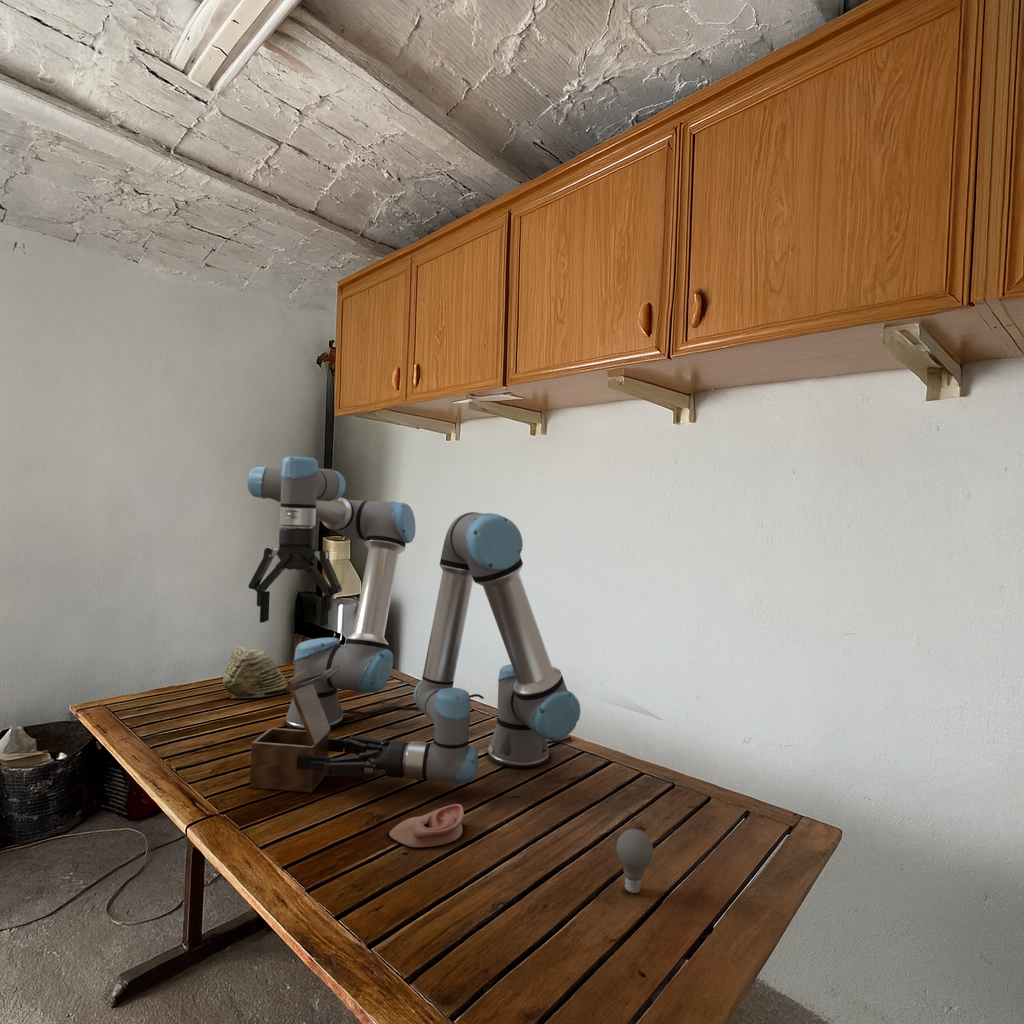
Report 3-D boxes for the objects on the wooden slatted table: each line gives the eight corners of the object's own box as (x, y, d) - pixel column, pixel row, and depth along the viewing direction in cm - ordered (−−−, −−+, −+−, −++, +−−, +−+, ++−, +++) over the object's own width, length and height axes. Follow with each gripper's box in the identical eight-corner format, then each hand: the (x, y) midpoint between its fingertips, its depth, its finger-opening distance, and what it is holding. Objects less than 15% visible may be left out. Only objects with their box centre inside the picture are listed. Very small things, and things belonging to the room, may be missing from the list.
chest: (249, 787, 136) (251, 742, 136) (269, 769, 146) (270, 727, 145) (311, 792, 135) (313, 747, 135) (327, 774, 144) (328, 732, 144)
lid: (286, 681, 135) (322, 667, 135) (303, 670, 145) (337, 657, 144) (311, 745, 135) (347, 732, 135) (327, 730, 144) (361, 717, 144)
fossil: (218, 695, 195) (220, 647, 195) (278, 685, 208) (279, 640, 207) (228, 703, 189) (230, 653, 188) (289, 692, 201) (290, 645, 201)
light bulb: (610, 879, 108) (613, 822, 108) (644, 879, 109) (647, 822, 109) (619, 902, 102) (622, 840, 102) (655, 901, 103) (658, 840, 103)
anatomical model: (383, 821, 117) (406, 793, 128) (382, 842, 117) (405, 813, 128) (452, 832, 114) (469, 802, 125) (451, 853, 114) (468, 822, 125)
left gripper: (234, 525, 137) (230, 623, 137) (347, 530, 135) (343, 629, 135) (251, 524, 144) (247, 616, 144) (358, 529, 142) (354, 623, 143)
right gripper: (392, 800, 128) (284, 791, 129) (417, 756, 149) (324, 749, 151) (394, 763, 127) (285, 755, 129) (418, 725, 149) (325, 718, 151)
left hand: (294, 623), depth 140 cm, fingers open, 13 cm apart
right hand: (306, 752), depth 140 cm, fingers closed on chest, 9 cm apart
